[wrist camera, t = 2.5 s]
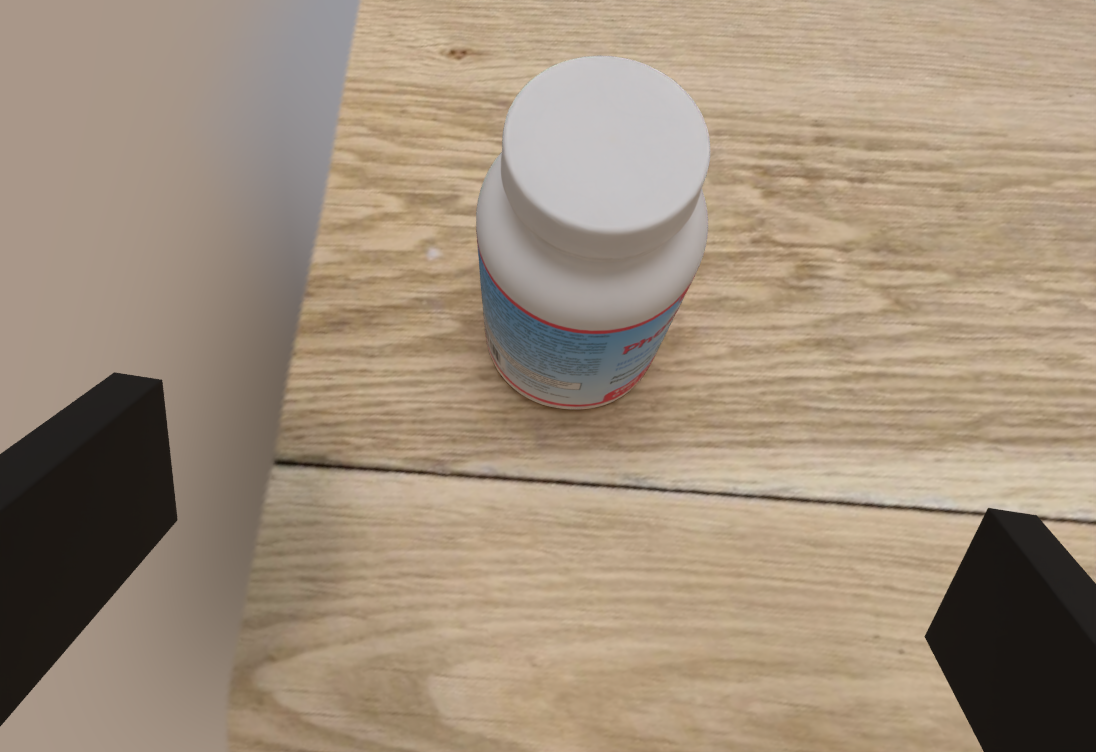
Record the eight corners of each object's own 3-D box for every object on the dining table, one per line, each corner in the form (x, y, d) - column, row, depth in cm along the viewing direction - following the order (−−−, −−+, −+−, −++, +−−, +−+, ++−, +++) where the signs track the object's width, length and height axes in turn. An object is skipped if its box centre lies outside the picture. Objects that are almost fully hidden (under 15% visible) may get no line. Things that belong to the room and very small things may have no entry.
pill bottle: (639, 431, 26) (729, 292, 15) (468, 394, 26) (436, 231, 15) (665, 277, 27) (762, 57, 17) (506, 244, 28) (502, 5, 17)
